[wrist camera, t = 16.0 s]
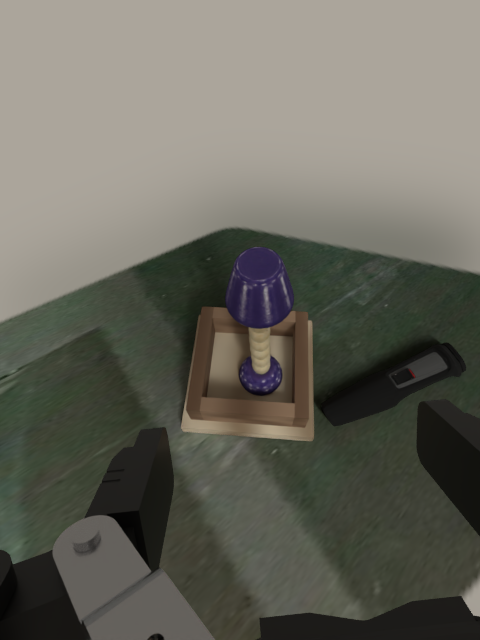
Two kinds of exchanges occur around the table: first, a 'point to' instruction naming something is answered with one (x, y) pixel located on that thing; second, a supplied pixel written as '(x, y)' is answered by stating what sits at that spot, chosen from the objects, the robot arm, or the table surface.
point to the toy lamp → (259, 313)
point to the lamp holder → (228, 393)
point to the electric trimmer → (393, 384)
